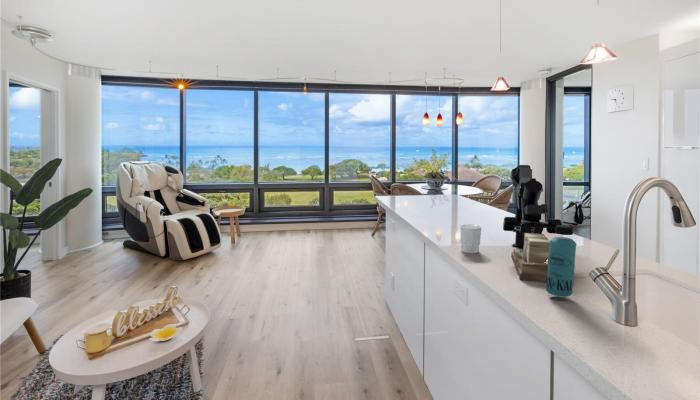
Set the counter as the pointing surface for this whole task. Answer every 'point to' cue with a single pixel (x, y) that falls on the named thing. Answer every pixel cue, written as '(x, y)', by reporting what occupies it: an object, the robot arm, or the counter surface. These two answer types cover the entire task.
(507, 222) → the robot arm
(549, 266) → the beverage bottle
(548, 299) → the counter surface
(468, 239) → the white cup
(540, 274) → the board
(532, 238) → the tea box
